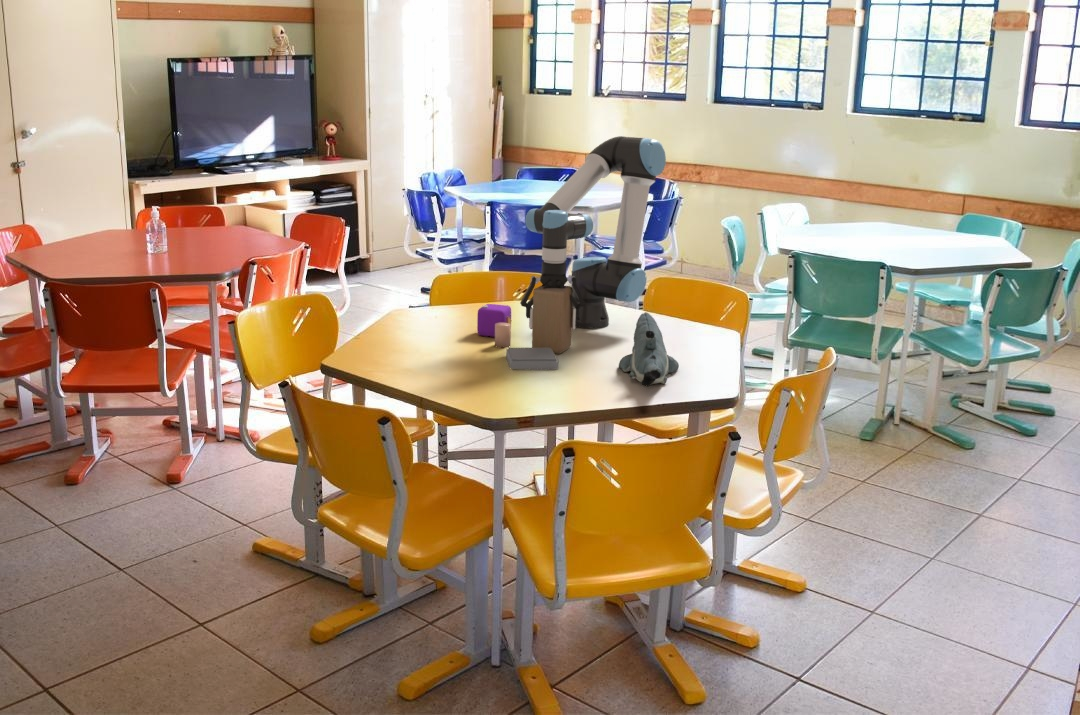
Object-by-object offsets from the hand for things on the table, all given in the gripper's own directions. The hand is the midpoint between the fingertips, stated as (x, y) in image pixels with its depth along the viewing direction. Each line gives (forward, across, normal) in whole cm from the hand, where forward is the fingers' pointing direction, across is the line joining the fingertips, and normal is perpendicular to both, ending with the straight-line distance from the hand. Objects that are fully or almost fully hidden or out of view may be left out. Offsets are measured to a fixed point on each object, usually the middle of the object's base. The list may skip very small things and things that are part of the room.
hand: (552, 328), depth 330 cm
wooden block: (+7, 0, 0) cm, 7 cm away
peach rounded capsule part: (+7, +15, -5) cm, 17 cm away
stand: (+7, +8, +15) cm, 18 cm away
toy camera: (+7, +16, -21) cm, 27 cm away
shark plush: (+7, -22, +34) cm, 41 cm away
